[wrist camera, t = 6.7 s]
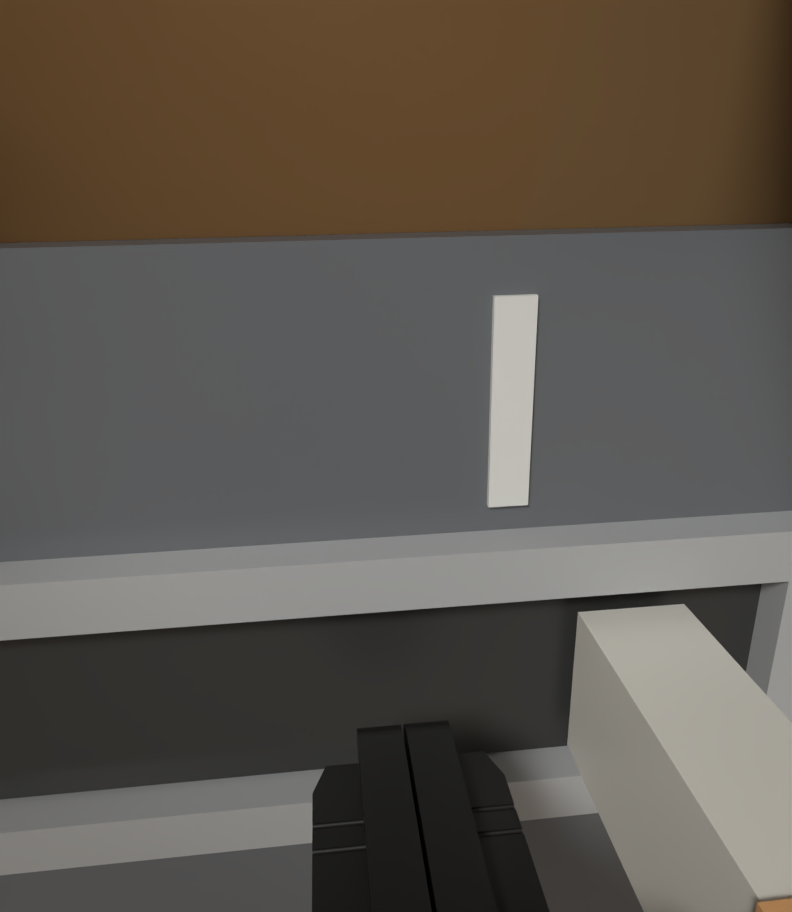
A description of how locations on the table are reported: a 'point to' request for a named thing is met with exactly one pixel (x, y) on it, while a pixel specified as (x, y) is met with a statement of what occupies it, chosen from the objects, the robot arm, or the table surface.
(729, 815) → the fader tab
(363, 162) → the table surface
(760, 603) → the console board
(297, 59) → the table surface
